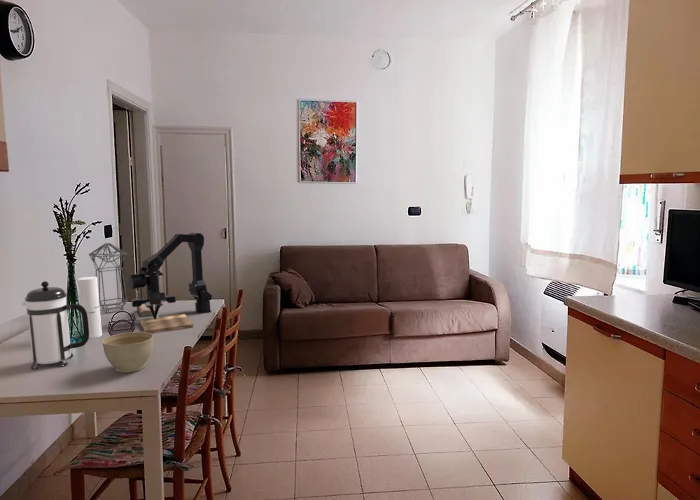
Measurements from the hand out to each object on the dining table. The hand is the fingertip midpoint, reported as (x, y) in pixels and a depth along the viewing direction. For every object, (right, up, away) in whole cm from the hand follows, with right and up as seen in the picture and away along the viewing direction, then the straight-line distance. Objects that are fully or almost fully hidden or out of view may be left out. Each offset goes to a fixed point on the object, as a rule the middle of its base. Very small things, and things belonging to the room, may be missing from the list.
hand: (155, 318), depth 238 cm
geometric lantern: (-31, +1, +25) cm, 39 cm away
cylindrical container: (-19, -5, -21) cm, 28 cm away
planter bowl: (+15, -9, -61) cm, 64 cm away
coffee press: (-15, -9, -53) cm, 56 cm away
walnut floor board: (+9, -2, -9) cm, 13 cm away
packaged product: (-9, -1, +13) cm, 16 cm away
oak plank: (+4, -1, 0) cm, 4 cm away
